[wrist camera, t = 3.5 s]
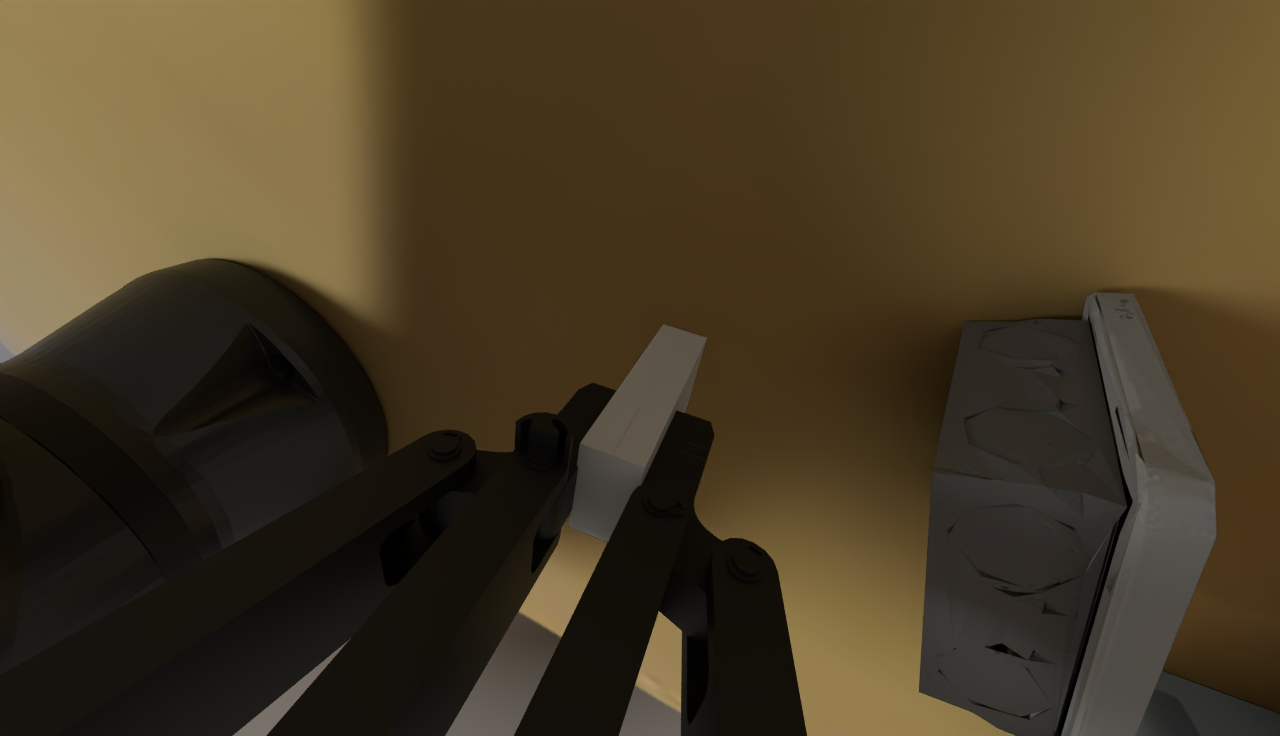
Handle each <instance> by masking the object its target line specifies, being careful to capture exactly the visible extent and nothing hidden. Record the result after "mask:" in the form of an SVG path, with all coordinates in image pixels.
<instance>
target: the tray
mask: <svg viewBox="0 0 1280 736" xmlns="http://www.w3.org/2000/svg"><path fill="white" fill-rule="evenodd" d="M1135 736H1280V714H1278V713H1275V712H1273V711H1270V710H1267V709H1265V708H1262V707H1259V706H1256V705H1254V704H1251V703H1248V702H1245V701H1243V700H1240V699H1237V698H1235V697H1232V696H1229V695H1226V694H1224V693H1221V692H1218V691H1215V690H1213V689H1210V688H1207V687H1204V686H1202V685H1199V684H1196V683H1194V682H1191V681H1188V680H1185V679H1183V678H1180V677H1177V676H1174V675H1172V674H1169V673H1166V672H1163V671H1162V672H1161V674H1160V676H1159V679H1158V681H1157V684H1156V686H1155V689H1154V691H1153V694H1152V696H1151V698H1150V701H1149V703H1148V706H1147V708H1146V711H1145V713H1144V716H1143V718H1142V720H1141V723H1140V725H1139V728H1138V730H1137V733H1136V735H1135Z"/></svg>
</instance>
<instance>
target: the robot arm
mask: <svg viewBox="0 0 1280 736" xmlns="http://www.w3.org/2000/svg"><path fill="white" fill-rule="evenodd" d="M706 340H707V338H706V337H703V336H700V335H697V334H693V333H690V332H687V331H684V330H680V329H677V328H674V327H671V326H668V325H664V324H663V325H662V327H661V328H660V330H659V331H658V332H657V334H656V335H655V337H654V338H653V340H652V341H651V342H650V344H649V345H648V347H647V348H646V350H645V351H644V352H643V354H642V355H641V357H640V358H639V360H638V361H637V362H636V364H635V365H634V367H633V368H632V370H631V371H630V372H629V374H628V375H627V377H626V378H625V380H624V381H623V383H622V384H621V385H620V387H619V388H618V390H617V391H615V390H613V389H610V388H607V387H604V386H601V385H598V384H595V383H591V384H589V385H587V386H585V387H583V388H581V389H579V390H578V391H577V392H576V393H575V394H574V396H573V397H572V398H571V399H570V402H568V403H567V404H566V405H565V406H564V408H563V410H561V411H560V412H559V414H558V415H555V414H550V413H532V414H529V415H526V416H523V417H522V418H520V419H519V420H518V421H516V432H515V450H514V451H513V452H508V453H505V452H491V451H481V450H476V445H475V441H474V440H473V439H472V438H471V437H470V436H469V435H468V434H465V433H463V432H461V431H455V430H442V431H435V432H433V433H430V434H428V435H425V436H423V437H421V438H420V439H418V440H416V441H414V442H413V443H411V444H409V445H407V446H405V447H404V448H402V449H400V450H398V451H397V452H395V453H393V454H391V455H390V456H388V457H386V453H387V435H386V428H385V423H384V419H383V415H382V412H381V409H380V406H379V404H378V401H377V398H376V396H375V394H374V392H373V390H372V387H371V386H370V384H369V382H368V380H367V378H366V376H365V375H364V373H363V371H362V369H361V368H360V366H359V365H358V363H357V362H356V360H355V359H354V357H353V356H352V355H351V353H350V352H349V350H348V349H347V348H346V347H345V345H344V344H343V343H342V341H341V340H340V339H339V338H338V337H337V336H336V334H335V333H334V332H333V331H332V330H331V329H330V328H329V327H328V326H327V324H326V323H325V322H324V321H323V320H322V319H321V318H320V317H319V316H318V315H317V314H316V313H314V312H313V311H312V310H311V309H310V308H309V307H308V306H307V305H305V304H304V303H303V302H302V301H301V300H299V299H298V298H297V297H296V296H294V295H293V294H292V293H290V292H289V291H288V290H286V289H285V288H283V287H282V286H280V285H279V284H277V283H276V282H274V281H272V280H270V279H269V278H267V277H265V276H263V275H261V274H260V273H258V272H255V271H253V270H251V269H249V268H246V267H244V266H241V265H238V264H235V263H231V262H227V261H223V260H216V259H200V260H194V261H190V262H187V263H183V264H179V265H175V266H172V267H168V268H164V269H161V270H157V271H153V272H150V273H148V274H145V275H143V276H140V277H138V278H136V279H134V280H133V281H131V282H130V283H128V284H127V285H125V286H124V287H123V288H121V289H120V290H118V291H116V292H115V293H113V294H112V295H110V296H108V297H107V298H105V299H104V300H102V301H100V302H99V303H97V304H96V305H94V306H93V307H91V308H89V309H88V310H86V311H85V312H83V313H82V314H80V315H79V316H77V317H76V318H74V319H73V320H71V321H70V322H68V323H67V324H65V325H64V326H62V327H60V328H59V329H57V330H56V331H54V332H53V333H51V334H50V335H48V336H47V337H45V338H44V339H42V340H41V341H39V342H38V343H36V344H34V345H33V346H31V347H30V348H28V349H27V350H25V351H24V352H22V353H21V354H19V355H17V356H15V357H13V358H11V359H9V360H7V361H5V362H3V363H0V736H232V735H234V734H235V733H236V732H237V731H239V730H240V729H241V728H242V727H243V726H245V725H246V724H247V723H248V722H250V721H251V720H252V719H253V718H254V717H256V716H257V715H258V714H259V713H261V712H262V711H263V710H264V709H265V708H267V707H268V706H269V705H270V704H271V703H273V702H274V701H275V700H276V699H278V698H279V697H280V696H281V695H282V694H284V693H285V692H286V691H287V690H288V689H290V688H291V687H292V686H293V685H295V684H296V683H297V682H298V681H299V680H301V679H302V678H303V677H304V676H305V675H307V674H308V673H309V672H310V671H312V670H313V669H314V668H315V667H316V666H318V665H319V664H320V663H321V662H323V661H324V660H325V659H326V658H327V657H329V656H330V655H331V654H332V653H333V652H334V651H336V650H337V649H338V648H340V647H341V646H342V645H343V644H344V643H346V642H347V641H348V640H349V639H350V638H351V639H350V640H349V641H348V642H347V644H346V645H345V646H344V647H343V648H342V649H341V651H340V652H339V653H338V654H337V655H336V656H335V657H334V658H333V660H332V661H331V662H330V663H329V664H328V665H327V667H326V668H325V669H324V670H323V671H322V672H321V673H320V675H319V676H318V677H317V678H316V680H314V682H313V683H312V684H311V685H310V686H309V687H308V688H307V690H306V691H305V692H304V693H303V694H302V695H301V696H300V698H299V699H298V700H297V701H296V702H295V703H294V705H293V706H292V707H291V708H290V709H289V711H288V712H287V713H286V714H285V715H284V716H283V717H282V719H281V720H280V721H279V722H278V723H277V724H276V725H275V726H274V728H273V729H272V730H271V731H270V732H269V733H268V735H267V736H445V735H446V733H447V732H448V730H449V728H450V727H451V725H452V723H453V722H454V720H455V718H456V717H457V715H458V713H459V711H460V710H461V708H462V706H463V705H464V703H465V701H466V699H467V698H468V696H469V694H470V693H471V691H472V689H473V688H474V686H475V684H476V682H477V681H478V679H479V677H480V676H481V674H482V672H483V670H484V669H485V667H486V665H487V663H488V662H489V660H490V659H491V657H492V655H493V653H494V652H495V650H496V648H497V647H498V645H499V643H500V641H501V640H502V638H503V637H504V635H505V633H506V631H507V630H508V628H509V626H510V625H511V623H512V621H513V619H514V617H515V616H516V614H517V613H518V611H519V609H520V608H521V606H522V604H523V602H524V601H525V599H526V597H527V596H528V594H529V592H530V591H531V589H532V587H533V585H534V584H535V582H536V580H537V579H538V577H539V575H540V574H541V572H542V570H543V568H544V567H545V565H546V563H547V562H548V560H549V558H550V556H551V555H552V553H553V551H554V550H555V548H556V546H557V545H558V541H559V538H560V534H561V527H562V526H563V524H564V522H565V521H566V519H567V517H568V516H569V514H570V516H569V523H568V527H571V528H573V529H576V530H578V531H580V532H583V533H585V534H588V535H590V536H593V537H595V538H598V539H600V540H603V541H605V542H607V545H606V547H605V549H604V551H603V553H602V555H601V557H600V559H599V562H598V564H597V566H596V568H595V570H594V572H593V574H592V576H591V578H590V580H589V582H588V584H587V586H586V588H585V590H584V592H583V594H582V597H581V599H580V601H579V603H578V605H577V607H576V609H575V611H574V613H573V615H572V617H571V619H570V621H569V623H568V625H567V627H566V629H565V632H564V634H563V636H562V638H561V640H560V642H559V644H558V646H557V648H556V650H555V652H554V654H553V656H552V658H551V660H550V663H549V664H548V667H547V669H546V671H545V673H544V675H543V677H542V679H541V681H540V683H539V685H538V687H537V689H536V691H535V693H534V696H533V697H532V699H531V702H530V704H529V706H528V708H527V710H526V712H525V714H524V716H523V718H522V720H521V722H520V724H519V727H518V728H517V730H516V733H515V735H514V736H619V733H620V730H621V726H622V723H623V720H624V717H625V714H626V711H627V708H628V705H629V702H630V698H631V695H632V692H633V689H634V686H635V683H636V680H637V677H638V674H639V671H640V667H641V664H642V661H643V658H644V655H645V652H646V649H647V646H648V643H649V639H650V636H651V633H652V630H653V627H654V624H655V621H656V618H657V615H658V611H660V612H661V613H662V614H663V615H664V616H665V617H667V618H668V619H669V620H670V621H671V622H672V623H674V624H675V625H676V626H677V627H678V628H679V629H681V630H682V683H681V736H807V733H806V727H805V722H804V716H803V710H802V705H801V699H800V694H799V688H798V682H797V677H796V671H795V665H794V660H793V654H792V649H791V643H790V637H789V632H788V626H787V620H786V615H785V609H784V604H783V598H782V592H781V587H780V581H779V575H778V571H777V569H776V566H775V563H774V561H773V560H772V558H771V557H770V556H769V555H768V553H767V552H766V551H765V550H764V549H762V548H761V547H759V546H758V545H757V544H755V543H753V542H751V541H748V540H745V539H742V538H729V539H727V540H724V541H721V540H720V539H718V538H717V537H716V536H714V535H713V534H711V533H710V532H709V531H708V530H707V529H706V528H705V527H704V526H703V525H702V524H701V523H700V521H699V520H698V518H697V516H696V514H695V510H694V498H695V495H696V492H697V489H698V486H699V483H700V479H701V476H702V473H703V470H704V467H705V464H706V461H707V457H708V454H709V451H710V448H711V445H712V442H713V439H714V432H713V428H712V425H711V422H709V421H706V420H703V419H701V418H698V417H695V416H692V415H689V414H686V413H685V410H686V408H687V406H688V403H689V399H690V396H691V392H692V389H693V385H694V382H695V378H696V375H697V371H698V368H699V364H700V361H701V358H702V354H703V351H704V347H705V344H706Z"/></svg>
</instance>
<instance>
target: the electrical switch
mask: <svg viewBox="0 0 1280 736" xmlns="http://www.w3.org/2000/svg"><path fill="white" fill-rule="evenodd" d="M933 466H935V467H940V468H945V469H949V470H954V472H950V471H944V470H939V469H933V471H932V485H931V501H930V517H929V534H928V550H927V567H926V583H925V600H924V616H923V632H922V649H921V665H920V682H919V692H921V693H923V694H926V695H928V696H931V697H934V698H936V699H939V700H941V701H944V702H947V703H949V704H952V705H955V706H957V707H960V708H962V709H965V710H968V711H970V712H973V713H974V714H976V715H978V716H979V717H981V718H982V719H984V720H986V721H987V722H989V723H990V724H992V725H994V726H995V727H997V728H999V729H1001V730H1003V731H1006V732H1008V733H1011V734H1013V735H1016V736H1135V735H1136V733H1137V730H1138V728H1139V725H1140V723H1141V720H1142V718H1143V716H1144V713H1145V711H1146V708H1147V706H1148V703H1149V701H1150V698H1151V696H1152V694H1153V691H1154V689H1155V686H1156V684H1157V681H1158V679H1159V676H1160V674H1161V672H1162V669H1163V667H1164V664H1165V662H1166V659H1167V657H1168V654H1169V652H1170V650H1171V647H1172V645H1173V642H1174V640H1175V637H1176V635H1177V632H1178V630H1179V628H1180V625H1181V623H1182V620H1183V618H1184V615H1185V613H1186V610H1187V608H1188V606H1189V603H1190V601H1191V598H1192V596H1193V593H1194V591H1195V588H1196V586H1197V584H1198V581H1199V579H1200V576H1201V574H1202V571H1203V569H1204V566H1205V564H1206V562H1207V559H1208V557H1209V554H1210V552H1211V549H1212V547H1213V544H1214V542H1215V540H1216V537H1217V536H1216V495H1215V482H1214V480H1213V477H1212V475H1211V472H1210V470H1209V468H1208V465H1207V463H1206V461H1205V458H1204V456H1203V454H1202V451H1201V449H1200V446H1199V444H1198V442H1197V439H1196V437H1195V435H1194V432H1193V430H1192V428H1191V425H1190V423H1189V421H1188V418H1187V416H1186V413H1185V411H1184V409H1183V406H1182V404H1181V402H1180V399H1179V397H1178V395H1177V392H1176V390H1175V387H1174V385H1173V383H1172V380H1171V378H1170V376H1169V373H1168V371H1167V369H1166V366H1165V364H1164V361H1163V359H1162V357H1161V354H1160V352H1159V350H1158V347H1157V345H1156V343H1155V340H1154V338H1153V335H1152V333H1151V331H1150V328H1149V326H1148V324H1147V321H1146V319H1145V317H1144V314H1143V312H1142V310H1141V308H1140V306H1139V304H1138V302H1137V300H1136V298H1135V295H1134V294H1132V293H1103V292H1094V293H1092V294H1090V295H1088V296H1086V301H1085V306H1084V311H1083V316H1082V320H1058V319H1030V320H1023V321H1015V322H1000V321H964V326H963V331H962V335H961V340H960V345H959V349H958V354H957V358H956V363H955V368H954V372H953V377H952V382H951V386H950V391H949V395H948V400H947V405H946V409H945V414H944V419H943V423H942V428H941V432H940V437H939V442H938V446H937V451H936V455H935V460H934V465H933ZM968 474H969V475H968Z"/></svg>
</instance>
